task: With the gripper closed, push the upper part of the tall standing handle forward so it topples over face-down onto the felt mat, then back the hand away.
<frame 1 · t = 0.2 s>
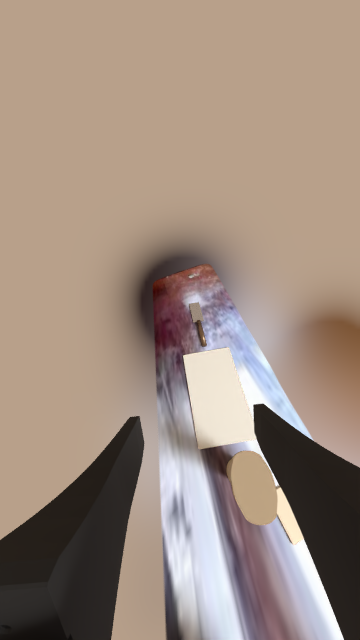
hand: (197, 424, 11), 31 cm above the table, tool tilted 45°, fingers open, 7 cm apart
felt mat: (215, 391, 41), on the table
turner: (198, 320, 53), on the table
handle: (234, 470, 34), on the table
beige tile: (292, 507, 31), on the table
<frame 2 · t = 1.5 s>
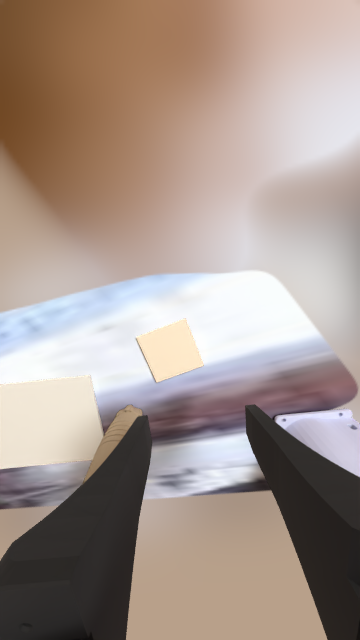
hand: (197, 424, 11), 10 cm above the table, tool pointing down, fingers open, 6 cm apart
felt mat: (23, 425, 23), on the table
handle: (131, 413, 23), on the table
beige tile: (171, 348, 22), on the table
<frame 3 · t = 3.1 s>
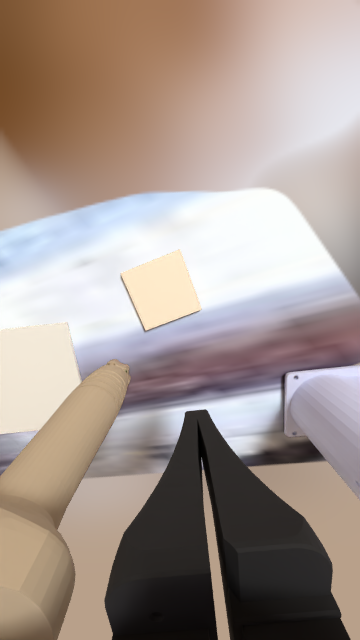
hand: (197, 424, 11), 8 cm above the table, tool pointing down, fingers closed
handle: (117, 370, 20), on the table
beige tile: (162, 291, 19), on the table
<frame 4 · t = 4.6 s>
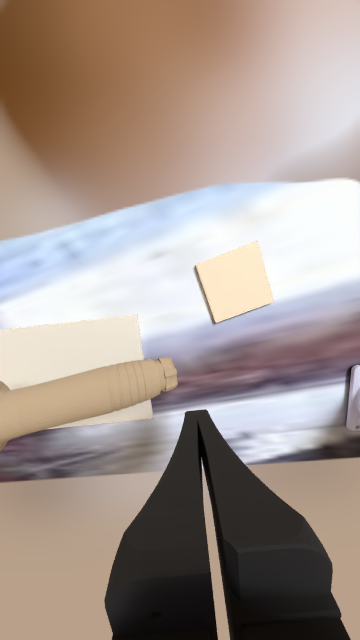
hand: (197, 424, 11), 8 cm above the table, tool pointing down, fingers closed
felt mat: (54, 378, 20), on the table
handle: (174, 371, 18), point 1 cm above the table
beige tile: (232, 283, 18), on the table
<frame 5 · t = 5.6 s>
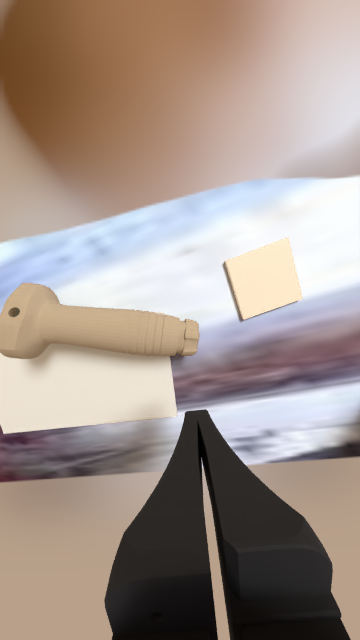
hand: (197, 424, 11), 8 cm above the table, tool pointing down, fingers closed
felt mat: (79, 375, 20), on the table
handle: (198, 339, 17), point 2 cm above the table
beige tile: (260, 280, 18), on the table
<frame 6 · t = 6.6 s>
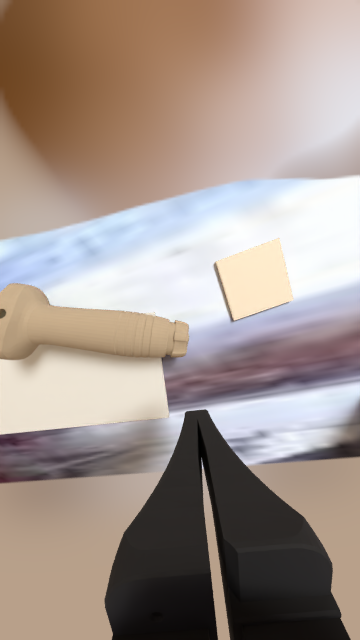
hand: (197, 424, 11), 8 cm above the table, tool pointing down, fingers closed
felt mat: (70, 376, 20), on the table
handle: (188, 340, 17), point 2 cm above the table, touching felt mat
beige tile: (251, 281, 18), on the table
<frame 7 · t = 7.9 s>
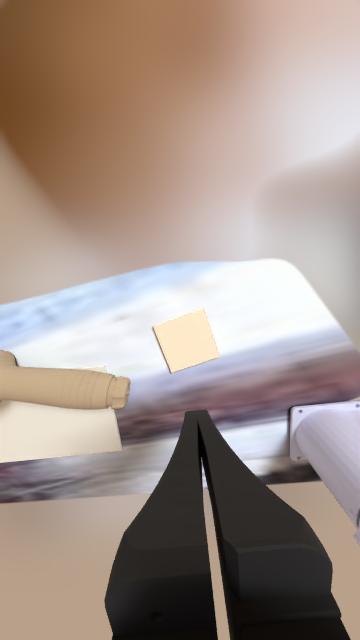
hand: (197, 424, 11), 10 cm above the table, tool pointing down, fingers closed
felt mat: (36, 417, 23), on the table
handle: (129, 393, 20), point 2 cm above the table, touching felt mat
beige tile: (186, 339, 22), on the table
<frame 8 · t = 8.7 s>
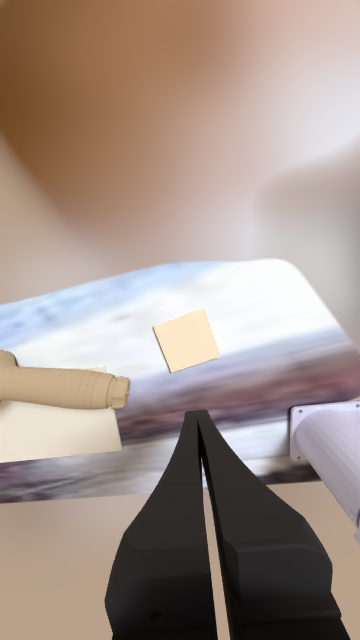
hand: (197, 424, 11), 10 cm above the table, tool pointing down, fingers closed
felt mat: (36, 417, 23), on the table
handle: (129, 393, 20), point 2 cm above the table, touching felt mat
beige tile: (186, 339, 22), on the table
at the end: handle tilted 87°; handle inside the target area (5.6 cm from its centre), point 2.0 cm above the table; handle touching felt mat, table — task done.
